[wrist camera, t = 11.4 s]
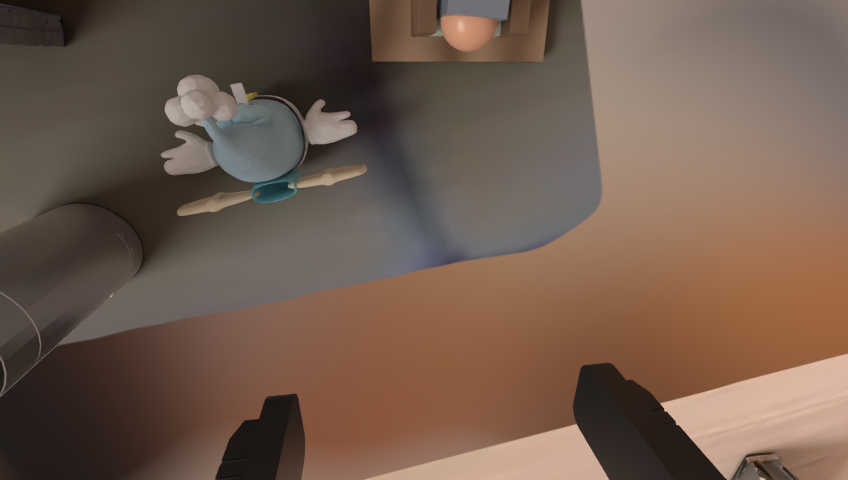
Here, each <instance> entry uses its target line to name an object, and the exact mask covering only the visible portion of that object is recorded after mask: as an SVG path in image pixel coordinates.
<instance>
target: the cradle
mask: <svg viewBox="0 0 848 480" xmlns="http://www.w3.org/2000/svg"><path fill="white" fill-rule="evenodd" d="M549 4H550V0H510V2H509V9H508V17H507V20H504V21H501V22H498V25H497V29H496V31H495V34H494V36H493V37H492V39H491V40H490V41H489V42H488V43H487V44H486V45H485V46H484V47H482V48H481V49H478V50H476V51H472V52H464V51H460V50H457V49H455V48H454V47H452V46H451V45H450V44H449V43H448V42H447V40H446V39H445V37H444V35H443V32H442V29H441V22H440V21H436V10H437V0H369V8H370V28H371V48H372V62H543V57H544V48H545V39H546V30H547V21H548V13H549Z"/></svg>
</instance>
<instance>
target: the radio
mask: <svg viewBox="0 0 848 480" xmlns="http://www.w3.org/2000/svg"><path fill="white" fill-rule="evenodd" d="M781 462H782V461H781V457H780V456H779V455H778V454H777V453H775V454H769V455H758V456H751V457H746V458H745V459H744V461H743V462H742V464H741V466H740V467H739V469H738V471H737V472H736V474H735V476H734V477H733V479H732V480H799V479H798V478H797V477H795V476H794V475H793V474H792V473H790V472H789V471H788V470H787V469H786V468H785V467H784V466H782V465H781Z"/></svg>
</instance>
